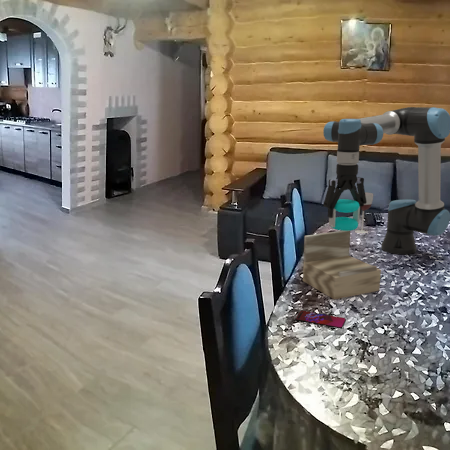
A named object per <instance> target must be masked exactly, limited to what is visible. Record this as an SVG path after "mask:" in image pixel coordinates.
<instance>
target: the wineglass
mask: <svg viewBox="0 0 450 450" xmlns="http://www.w3.org/2000/svg"><path fill="white" fill-rule="evenodd" d="M365 196H366V201H367V202H366V204H364V206H363V207H362V206H361V214H362V215H361V216H362V217H361V229H355V230H354V231H355V232H354V233H356V234H362V235H364V234H363V233H367V234H369V233H368V230H366V231H365V230H364V218H365V211H367V210H369V209H370V208H371V207H372V204H373V201H374V193H372V192H366V191H365Z"/></svg>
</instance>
